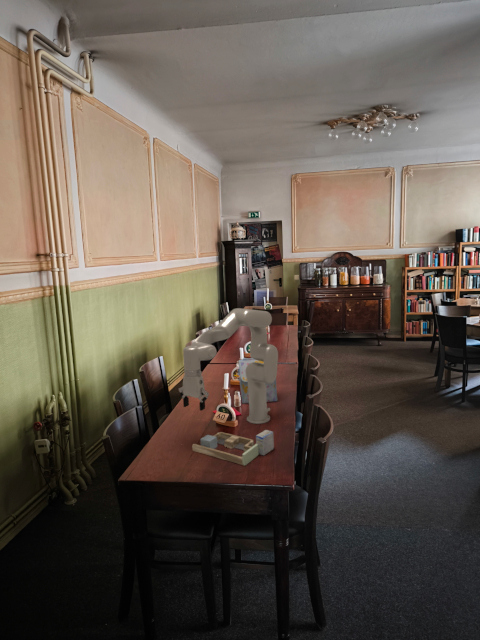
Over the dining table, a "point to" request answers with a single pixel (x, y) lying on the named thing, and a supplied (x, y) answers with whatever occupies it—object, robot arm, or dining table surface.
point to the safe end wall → (250, 454)
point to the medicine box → (265, 442)
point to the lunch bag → (270, 388)
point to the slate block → (209, 441)
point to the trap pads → (239, 446)
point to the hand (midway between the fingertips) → (194, 407)
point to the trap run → (229, 443)
